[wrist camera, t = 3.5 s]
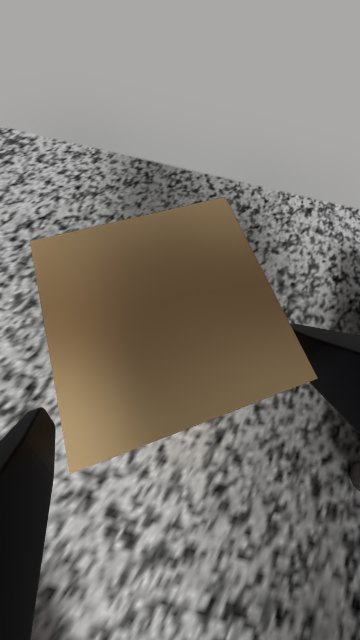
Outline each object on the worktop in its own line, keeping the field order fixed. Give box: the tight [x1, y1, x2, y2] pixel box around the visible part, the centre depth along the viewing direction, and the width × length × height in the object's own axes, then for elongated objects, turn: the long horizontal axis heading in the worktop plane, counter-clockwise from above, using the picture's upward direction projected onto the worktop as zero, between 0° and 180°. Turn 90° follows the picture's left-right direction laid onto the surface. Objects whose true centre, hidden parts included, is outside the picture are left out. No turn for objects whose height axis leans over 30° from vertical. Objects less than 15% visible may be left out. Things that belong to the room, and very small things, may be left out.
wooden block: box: [30, 197, 318, 474], centre depth 11 cm, size 5×5×13 cm
